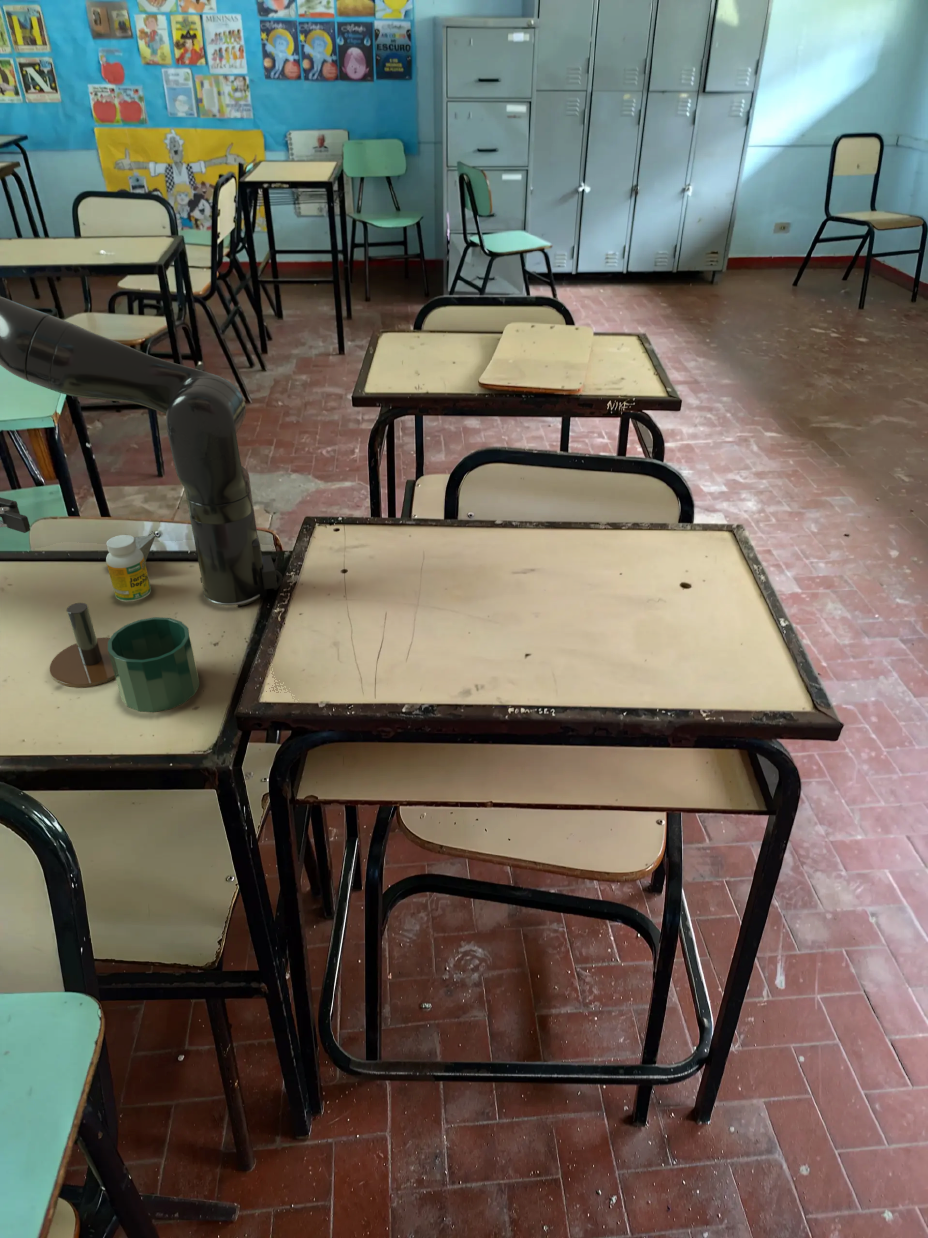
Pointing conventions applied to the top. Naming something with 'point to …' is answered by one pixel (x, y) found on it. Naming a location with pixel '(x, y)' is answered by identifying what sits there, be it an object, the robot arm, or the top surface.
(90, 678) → the lid
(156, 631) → the canister
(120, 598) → the supplement bottle
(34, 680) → the top surface
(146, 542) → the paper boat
